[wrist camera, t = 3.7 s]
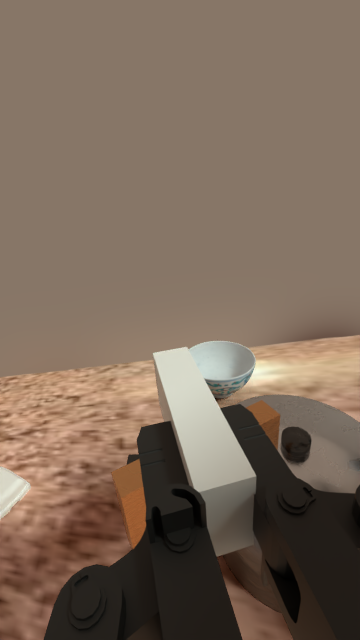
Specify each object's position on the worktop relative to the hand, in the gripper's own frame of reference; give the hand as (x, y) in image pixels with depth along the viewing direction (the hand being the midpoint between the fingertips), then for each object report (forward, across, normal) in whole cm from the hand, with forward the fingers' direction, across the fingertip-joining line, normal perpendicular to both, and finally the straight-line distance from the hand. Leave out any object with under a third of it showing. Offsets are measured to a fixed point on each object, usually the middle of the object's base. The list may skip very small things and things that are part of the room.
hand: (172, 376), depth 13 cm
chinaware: (+39, +16, -34) cm, 54 cm away
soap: (+26, -25, -34) cm, 50 cm away
